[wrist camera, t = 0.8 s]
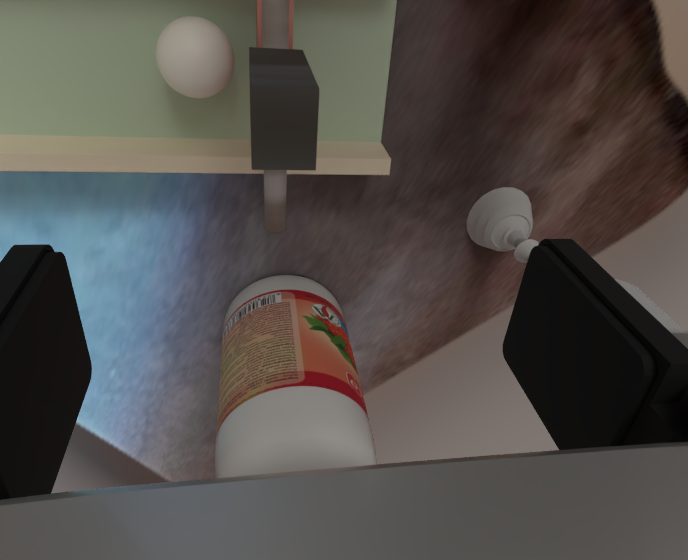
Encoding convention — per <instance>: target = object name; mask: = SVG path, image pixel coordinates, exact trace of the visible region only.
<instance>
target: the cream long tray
mask: <svg viewBox="0 0 688 560" xmlns="http://www.w3.org/2000/svg"><path fill="white" fill-rule="evenodd" d="M396 4H397V0H294V10H293V49H297V50H303V52H304V54H305V57H306V59H307V61H308V64H309V66H310V68H311V70H312V73H313V75H314V77H315V80H316V82H317V84H318V87H319V111H318V133H317V155H316V170H287V174H333V175H389V173H390V165H391V158H390V156H389V155H388V153H387V151H386V150H385V148H384V147H383V145H382V143H381V137H382V128H383V119H384V111H385V102H386V93H387V84H388V75H389V66H390V57H391V48H392V40H393V31H394V22H395V13H396ZM186 16H196V17H201V18H204V19H207V20H209V21H211V22H213V23H214V24H215V25H217V26H218V27H219V28H220V29H221V30H222V31H223V32H224V33H225V35H226V36H227V38H228V39H229V41H230V43H231V46H232V49H233V53H234V70H233V74H232V77H231V79H230V81H229V82H228V84H227V85H226V86H225V88H224V89H223V90H221V91H220V92H219V93H217V94H215V95H213V96H211V97H207V98H191V97H187V96H184V95H182V94H180V93H178V92H177V91H175V90H174V89H173V88H171V87H170V86H169V85H168V84H167V82H166V81H165V80H164V79H163V77H162V75H161V73H160V71H159V69H158V65H157V62H156V45H157V41H158V38H159V36H160V34H161V32H162V31H163V29H164V28H165V27H166V26H167V25H168V24H169V23H171V22H172V21H174V20H176V19H178V18H181V17H186ZM249 47H256V48H257V35H256V0H0V171H45V172H141V173H237V174H264V170H252V164H251V123H250V77H249Z"/></svg>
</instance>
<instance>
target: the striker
mask: <svg viewBox="0 0 688 560" xmlns="http://www.w3.org/2000/svg"><path fill="white" fill-rule="evenodd" d="M293 10H294V0H256V35H257V48H256V47H249V77H250V123H251V164H252V170H264V229H265V230H266V231H267V232H269V233H282V232H284V231H285V230H286V192H287V170H316V155H317V133H318V111H319V87H318V84H317V82H316V80H315V77H314V75H313V73H312V70H311V68H310V66H309V64H308V61H307V59H306V57H305V54H304V52H303V50H297V49H293Z"/></svg>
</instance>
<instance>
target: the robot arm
mask: <svg viewBox="0 0 688 560" xmlns="http://www.w3.org/2000/svg"><path fill="white" fill-rule="evenodd" d="M503 355H504V358H505V360H506V362H507V364H508V365H509V367H510V369H511V370H512V372H513V374H514V375H515V377H516V379H517V380H518V382H519V384H520V385H521V387H522V389H523V390H524V392H525V394H526V395H527V397H528V399H529V400H530V402H531V403H532V405H533V407H534V409H535V410H536V412H537V414H538V415H539V417H540V418H541V420H542V422H543V424H544V425H545V427H546V429H547V430H548V432H549V434H550V435H551V437H552V439H553V440H554V442H555V444H556V445H557V447H558V449H559V450H555V451H542V452H529V453H517V454H504V455H490V456H477V457H464V458H452V459H441V460H427V461H414V462H402V463H390V464H378V465H366V466H353V467H341V468H329V469H317V470H305V471H293V472H282V473H270V474H259V475H248V476H236V477H225V478H213V479H202V480H190V481H179V482H168V483H156V484H145V485H134V486H124V487H113V488H102V489H92V490H82V491H72V492H62V493H53V494H51V492H52V489H53V486H54V483H55V480H56V477H57V475H58V472H59V469H60V466H61V463H62V460H63V457H64V454H65V452H66V449H67V446H68V443H69V440H70V437H71V434H72V432H73V429H74V426H75V423H76V420H77V417H78V414H79V412H80V409H81V406H82V403H83V400H84V397H85V394H86V392H87V389H88V386H89V383H90V380H91V373H92V367H91V360H90V356H89V352H88V348H87V343H86V339H85V335H84V331H83V327H82V323H81V319H80V315H79V311H78V307H77V303H76V299H75V295H74V291H73V287H72V282H71V278H70V274H69V270H68V266H67V262H66V259H65V256H64V254H63V253H62V252H54V250H53V248H52V247H51V246H50V245H14V246H13V247H12V248H11V249H10V250H9V251H8V253H7V254H6V256H5V257H4V258H3V260H2V261H1V262H0V560H688V348H686V347H685V346H684V345H683V344H682V343H681V342H680V341H679V340H678V339H677V338H676V337H675V336H674V335H673V334H672V333H671V332H670V331H669V330H667V329H666V328H665V327H664V326H663V325H662V324H661V323H660V322H659V321H658V320H657V319H656V318H655V317H654V316H653V315H652V314H651V313H650V312H648V311H647V310H646V309H645V308H644V307H643V306H642V305H641V304H640V303H639V302H638V301H637V300H636V299H635V298H634V297H633V296H632V295H631V294H629V293H628V292H627V291H626V290H625V289H624V288H623V287H622V286H621V285H620V284H619V283H618V282H617V281H616V280H615V279H614V278H613V277H611V276H610V275H609V274H608V273H607V272H606V271H605V270H604V269H603V268H602V267H601V266H600V265H599V264H598V263H597V262H596V261H595V260H594V259H593V258H591V257H590V256H589V255H588V254H587V253H586V252H585V251H584V250H583V249H582V248H581V247H580V246H579V245H578V244H577V243H576V242H575V241H573V240H572V239H544V240H542V241H541V242H540V243H539V245H538V246H535V247H533V248H532V250H531V252H530V255H529V258H528V262H527V265H526V268H525V272H524V275H523V278H522V282H521V285H520V288H519V292H518V295H517V299H516V302H515V305H514V309H513V312H512V315H511V319H510V322H509V326H508V329H507V332H506V335H505V339H504V343H503Z"/></svg>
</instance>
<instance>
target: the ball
mask: <svg viewBox="0 0 688 560" xmlns="http://www.w3.org/2000/svg"><path fill="white" fill-rule="evenodd" d="M156 62H157V65H158V69H159V71H160V73H161V75H162V77H163V79H164V80H165V81H166V82H167V84H168V85H169V86H170V87H171V88H173V89H174V90H175V91H177V92H178V93H180V94H182V95H184V96H187V97H191V98H207V97H211V96H213V95H215V94H217V93H219V92H220V91H221V90H223V89H224V88H225V86H226V85H227V84H228V82H229V81H230V79H231V77H232V74H233V70H234V53H233V49H232V46H231V43H230V41H229V39H228V38H227V36H226V35H225V33H224V32H223V31H222V30H221V29H220V28H219V27H218V26H217V25H215V24H214V23H213V22H211V21H209V20H207V19H204V18H201V17H196V16H186V17H181V18H178V19H176V20H174V21H172V22H171V23H169V24H168V25H167V26H166V27H165V28H164V29H163V31H162V32H161V34H160V36H159V38H158V41H157V45H156Z"/></svg>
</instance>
